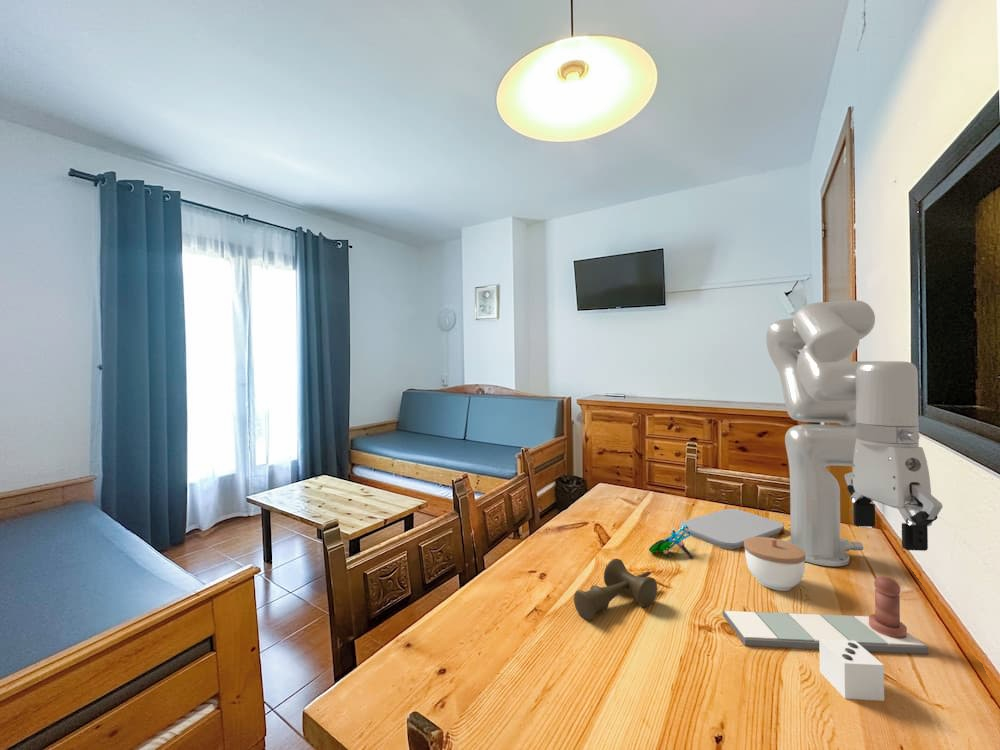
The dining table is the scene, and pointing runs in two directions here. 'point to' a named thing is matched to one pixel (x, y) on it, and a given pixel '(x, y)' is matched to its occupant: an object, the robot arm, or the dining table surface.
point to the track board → (814, 631)
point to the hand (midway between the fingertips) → (887, 536)
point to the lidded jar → (774, 562)
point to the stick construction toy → (665, 544)
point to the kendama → (615, 590)
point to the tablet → (730, 527)
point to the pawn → (887, 609)
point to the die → (851, 669)
